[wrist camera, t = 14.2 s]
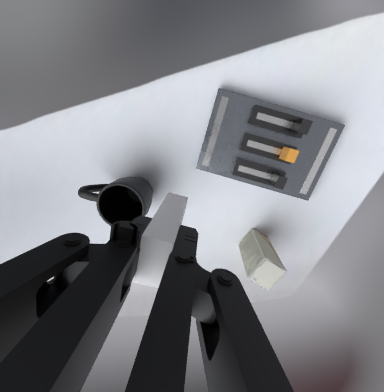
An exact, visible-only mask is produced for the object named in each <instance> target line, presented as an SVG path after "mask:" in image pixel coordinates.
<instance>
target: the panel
mask: <svg viewBox="0 0 384 392" xmlns="http://www.w3.org/2000/svg"><path fill="white" fill-rule="evenodd" d="M344 126H345V125H343V124H340V123H336V122H333V121H329V120H326V119H323V118H319V117H316V116H312V115H309V114H305V113H302V112H299V111H295V110H292V109H288V108H285V107H281V106H278V105H275V104H271V103H268V102H264V101H261V100H257V99H254V98H250V97H247V96H244V95H240V94H237V93H233V92H230V91H226V90H223V89H220V88H219V89H218V93H217V96H216V100H215V104H214V107H213V111H212V114H211V118H210V121H209V125H208V128H207V132H206V135H205V139H204V142H203V146H202V149H201V153H200V156H199V160H198V164H197V167H196V168H197V169H200V170H203V171H207V172H210V173H214V174H217V175H221V176H224V177H228V178H231V179H235V180H238V181H242V182H245V183H249V184H252V185H256V186H259V187H262V188H266V189H269V190H273V191H276V192H280V193H283V194H287V195H290V196H294V197H297V198H301V199H304V200H309V198H310V196H311V194H312V191H313V189H314V187H315V185H316V183H317V181H318V179H319V177H320V175H321V173H322V171H323V169H324V167H325V165H326V163H327V161H328V159H329V157H330V155H331V153H332V151H333V149H334V147H335V145H336V143H337V140H338V138H339V136H340V134H341V132H342V130H343V128H344ZM283 147H287V148H291V149H295V150H298V151H299V153H298V156H297V158H296V160H295V162H294V163H291V162H288V161H284V160H282V159H280V158H279V157H280V154H281V152H282V149H283Z"/></svg>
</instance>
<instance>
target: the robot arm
mask: <svg viewBox="0 0 384 392" xmlns="http://www.w3.org/2000/svg"><path fill="white" fill-rule="evenodd" d="M187 200H188V197H184V196H180V195H176V194H172V193H168V195H167V196H166V198H165V200H164V201H163V203H162V204H161V206H160V207H159V209H158V211H157V212H156V214H155V215H154V217H153V218H149V217H145V216H139V217H136V218H135V219H134V220H133V221H132V222H131V221H117V222H114V223H113V224H112V225H111V233H110V240H109V241H108V242H107V243H106V244H89V243H90V240H89V237H87V236H86V235H84V234H81V233H68V234H64V235H61V236H59V237H57V238H55V239H53V240H51V241H48V242H46V243H44V244H42V245H40V246H38V247H36V248H34V249H32V250H29V251H27V252H25V253H23V254H21V255H19V256H17V257H15V258H13V259H11V260H8V261H6V262H4V263H2V264H0V392H80V391H81V389H82V387H83V385H84V383H85V380H86V378H87V376H88V374H89V372H90V370H91V368H92V366H93V364H94V362H95V360H96V358H97V356H98V354H99V352H100V350H101V348H102V346H103V343H104V342H105V340H106V338H107V336H108V334H109V332H110V330H111V327H112V325H113V323H114V321H115V319H116V317H117V315H118V313H119V311H120V309H121V307H122V305H123V303H124V301H125V299H126V297H127V295H128V293H129V291H130V286H131V281H132V279H133V277H134V283H138V284H142V285H146V286H150V287H154V288H158V291H157V294H156V297H155V300H154V303H153V306H152V310H151V313H150V316H149V319H148V322H147V325H146V328H145V331H144V334H143V337H142V341H141V344H140V347H139V350H138V353H137V356H136V359H135V362H134V365H133V368H132V371H131V374H130V377H129V380H128V384H127V387H126V390H125V392H184V384H185V373H186V364H187V354H188V345H189V334H190V325H191V316H193V317H195V318H196V324H197V330H198V335H199V341H200V347H201V352H202V358H203V363H204V369H205V374H206V380H207V385H208V391H209V392H294V391H293V389H292V387H291V385H290V383H289V381H288V379H287V377H286V375H285V373H284V371H283V368H282V366H281V364H280V363H279V360H278V358H277V356H276V354H275V352H274V350H273V348H272V346H271V344H270V342H269V340H268V338H267V336H266V334H265V332H264V330H263V328H262V325H261V323H260V321H259V319H258V318H257V315H256V313H255V311H254V309H253V307H252V305H251V303H250V301H249V299H248V297H247V295H246V293H245V291H244V289H243V287H242V284H241V282H240V280H239V279H238V278H237V276H236V275H235V274H233V273H232V272H230V271H228V270H226V269H215V270H213V271H212V272H211V273H210V272H208V271H206V270H205V269H203V268H202V267H201V266H199V264H198V263H197V260H196V250H197V240H198V232H197V231H196V229H194V228H191V227H187V226H183V225H181V224H182V220H183V216H184V212H185V208H186V204H187ZM134 275H135V276H134ZM53 276H54V279H52V280H51V281H48V282H47V280H49V279H50V278H52V277H53Z"/></svg>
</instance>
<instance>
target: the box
mask: <svg viewBox="0 0 384 392" xmlns="http://www.w3.org/2000/svg"><path fill="white" fill-rule="evenodd" d="M239 249H240V252H241V256H242V260H243V263H244V267H245V270H246V274H247V278H248V280H250V281H252V282H253V283H255V284H257V285H258V286H260V287H262V288H264V289H266V290H269V289H270V288H271V287H272V286H273V285H274V284H275V283H276V282H277V281H278V280H279V279H280V278H281V277H282V276H283V274H284V273H285V272H286V269H285V267H284V266H283V264H282V262H281V260H280V259H279V257H278V255H277V253H276V252H275V250H274V248H273V246H272V245H271V243H270V241H269V239H268V238H267V237H265V236H264V235H262V234H261V233H259V232H258V231H256V230H254V229H251V230H250V231H249V233H248V234H247V235H246V236H245V237H244V239H243V240H242V241H241V243H240V244H239Z"/></svg>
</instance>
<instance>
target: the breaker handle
mask: <svg viewBox="0 0 384 392" xmlns="http://www.w3.org/2000/svg"><path fill="white" fill-rule="evenodd" d="M298 153H299V151H298V150H295V149H291V148H287V147H283V149H282V152H281V154H280V157H279V158H280V159H282V160H284V161H288V162H291V163H294V162H295V160H296V158H297V156H298Z"/></svg>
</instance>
